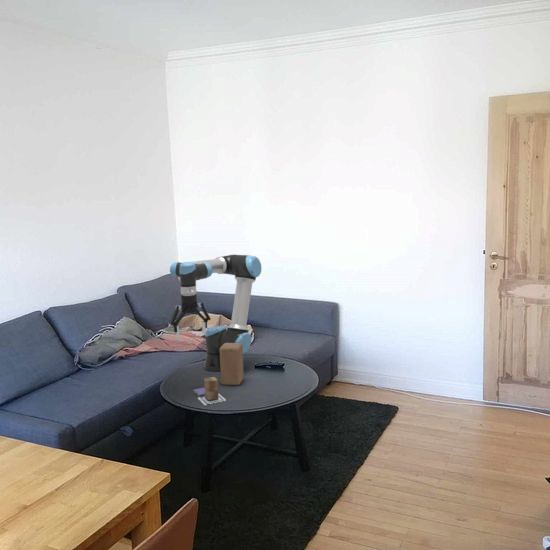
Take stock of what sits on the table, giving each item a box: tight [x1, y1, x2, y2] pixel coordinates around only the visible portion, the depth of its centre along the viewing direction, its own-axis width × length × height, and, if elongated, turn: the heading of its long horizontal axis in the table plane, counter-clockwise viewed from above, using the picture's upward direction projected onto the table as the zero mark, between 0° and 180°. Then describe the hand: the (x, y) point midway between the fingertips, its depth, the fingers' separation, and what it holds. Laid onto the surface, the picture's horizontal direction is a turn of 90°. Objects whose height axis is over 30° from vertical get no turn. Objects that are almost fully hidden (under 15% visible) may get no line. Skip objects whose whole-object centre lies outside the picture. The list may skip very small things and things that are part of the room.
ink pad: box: [192, 387, 205, 398], centre depth 288 cm, size 9×9×1 cm
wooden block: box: [220, 343, 245, 386], centre depth 300 cm, size 10×10×20 cm
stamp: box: [203, 376, 219, 402], centre depth 278 cm, size 5×5×10 cm
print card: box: [197, 393, 227, 406], centre depth 279 cm, size 11×10×1 cm
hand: (191, 336), depth 285 cm, fingers open, 13 cm apart
